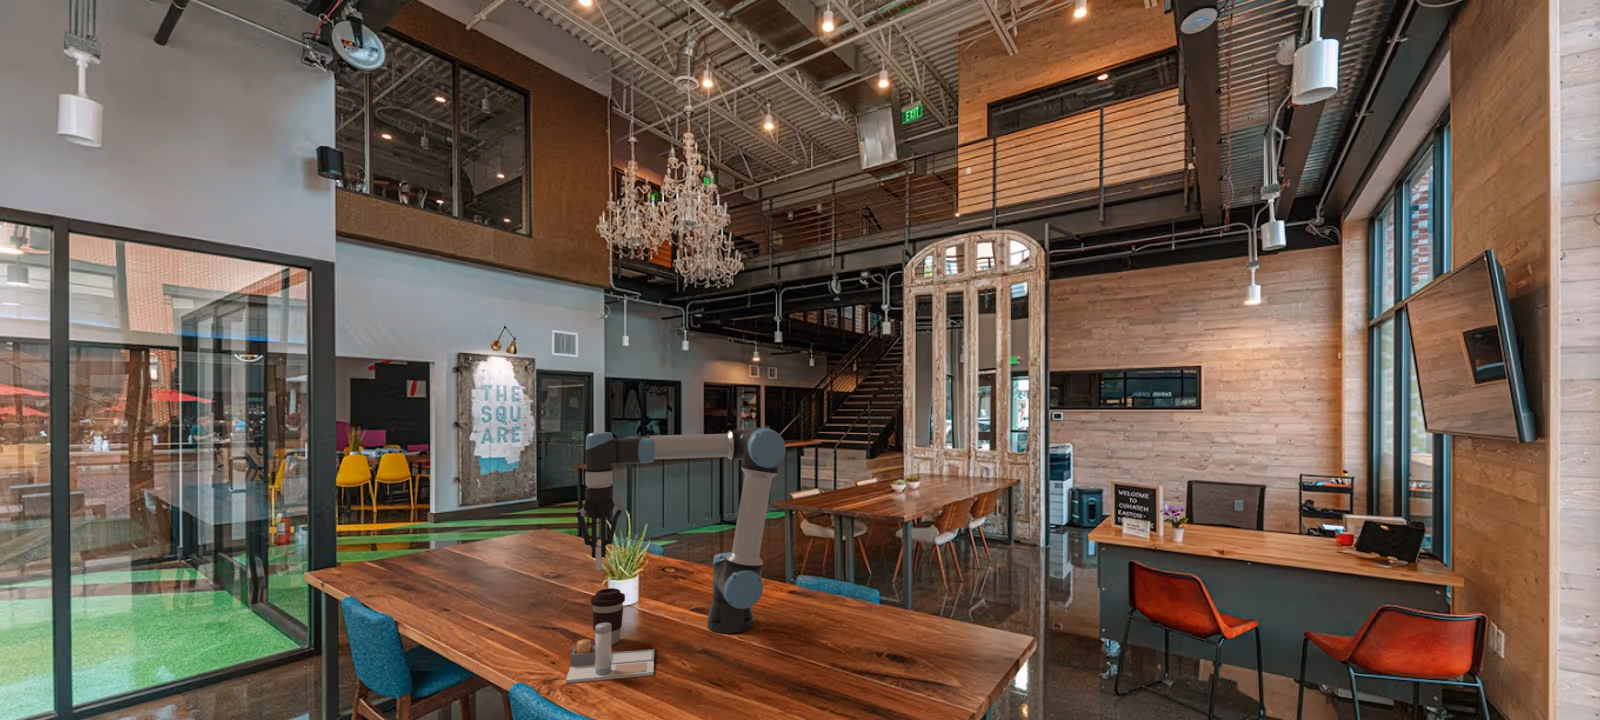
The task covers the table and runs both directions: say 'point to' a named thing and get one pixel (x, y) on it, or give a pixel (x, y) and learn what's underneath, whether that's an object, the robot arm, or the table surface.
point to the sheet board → (620, 665)
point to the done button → (584, 646)
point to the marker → (603, 648)
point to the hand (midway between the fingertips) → (598, 569)
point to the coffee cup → (608, 611)
